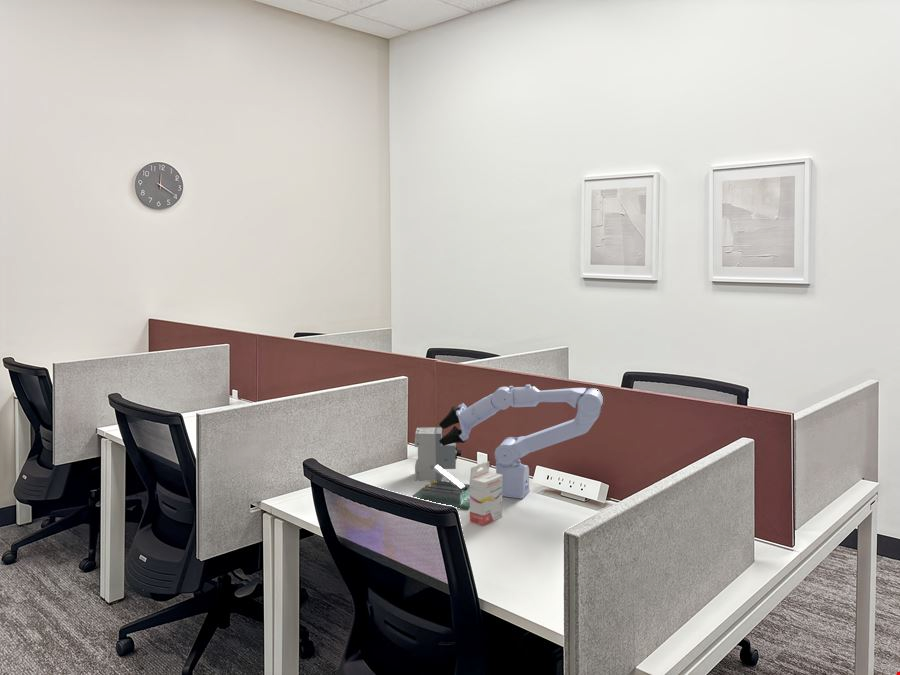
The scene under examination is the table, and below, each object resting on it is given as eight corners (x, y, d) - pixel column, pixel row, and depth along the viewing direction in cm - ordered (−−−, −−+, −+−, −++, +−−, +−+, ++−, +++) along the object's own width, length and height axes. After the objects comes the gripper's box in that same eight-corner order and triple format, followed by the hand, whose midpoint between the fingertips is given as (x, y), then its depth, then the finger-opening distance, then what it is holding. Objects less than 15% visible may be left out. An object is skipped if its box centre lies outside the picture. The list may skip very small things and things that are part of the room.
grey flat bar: (465, 488, 201) (466, 486, 201) (461, 491, 198) (463, 489, 198) (436, 466, 204) (438, 464, 203) (432, 469, 201) (434, 467, 201)
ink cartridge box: (484, 526, 181) (484, 471, 179) (468, 522, 184) (468, 467, 182) (503, 516, 188) (503, 463, 186) (488, 512, 191) (488, 460, 189)
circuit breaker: (461, 480, 218) (460, 433, 216) (415, 480, 218) (414, 433, 216) (461, 473, 225) (460, 427, 223) (416, 473, 225) (416, 427, 223)
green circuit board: (483, 494, 205) (483, 481, 204) (467, 510, 193) (467, 496, 192) (427, 487, 211) (427, 474, 211) (408, 501, 200) (408, 487, 199)
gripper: (468, 389, 211) (433, 411, 215) (470, 420, 198) (433, 442, 203) (482, 403, 214) (447, 425, 218) (485, 435, 202) (447, 457, 206)
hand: (441, 434), depth 211 cm, fingers open, 7 cm apart
